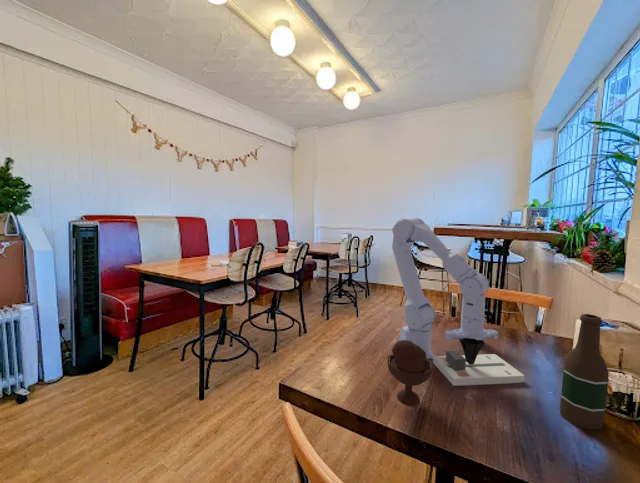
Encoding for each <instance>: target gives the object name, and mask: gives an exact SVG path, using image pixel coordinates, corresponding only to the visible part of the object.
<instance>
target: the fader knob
mask: <svg viewBox="0 0 640 483" xmlns="http://www.w3.org/2000/svg"><path fill="white" fill-rule="evenodd" d="M445 353H446V354H445V356H446V361H447V362H448V363H449V364H450V365H451V366H452V367H453V368H454V369H455V370H465V365H466V359H465V358H464V357H463V356H462V355H463V354H461V353H460V352H458V350H446V352H445Z"/></svg>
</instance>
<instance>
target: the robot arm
mask: <svg viewBox="0 0 640 483" xmlns="http://www.w3.org/2000/svg"><path fill="white" fill-rule="evenodd" d="M391 230H392V234H393V237H392V245H391V247H392V251H393V255H394V259H395V262H396V266H397V270H398V273H399V276H400V280H401V283H402V287H403V291H404V294H405V298H406V301H405V304H404V306H403V308H404V316H403V317H404V323H405V324H406V326H402V327H400V329H399V336H398V338H399V340H398V341H401V340H407V341H411V342H413V343H414V344H416V345H418V346H419V347H421V348H422V349H423V350H424V351H425V352H426V358H427V359H429V360H430V359H432V360H433V356H435V354H434V353H433V352H432V351H431V350H432V348H431V346H432V328H433V327H432V323H433V322H434V320H436V317H437V316H436V311H435V309H434V307H433V306H432V304H431V303H430V300H429V298H427V297H426V296H425V295H424V292H423V289H422V286H421V282H420V278H419V275H418V271H417V267H416V265H415V264H416V263H415V261H414V258H413V254H412V251H411V249H412V247H413V245H414V243H415V242H418V243H419V242H420V243H423V244H424V245H425V246H426V247H428V249H429V250H430V251H431V252H433V253H434V254H435V255H436V256H437V257H438V258H439V259H440V260H441V261H442V263H441V264H442V265H441V266H442V268H443V269H444V270H445V271H446V272H447V274H449V276H451V277H452V278H453V280H454V281H455V282H456V283H457V284H459V286H458V288H459V290H460V292H461V294H462V300H461V316H460V328H456V329H452V330H445V332H444V338H445V339H446V340H447V341H452V340H459V343H460V345H461V347H462V351H463V353H464V354H463V355H465V359H466V362H467V363H469V364H474V362H475V360H476V357H477V355H479V353H480V351H481V350H482V348H484V347H485V341H484V339H494V340H497V339H499V338H498V337H499V332H498V331H497V330H495V329H485V328H484V327H485V326H484V325H485V324H484V323H485V310H486V291H488V289H489V288H490V287H489V286H490V282H489V280H488V278H487V277H486V275H485V274H484V273H480V272H479V271H478V270H477V269H476V268H475V269H474V268H473V267H472V266H471V265H470V264H469V263H468V262H467V261H466V259H467V258H466V257H465V256H464V255H460V254H459V253H452V252H451V251H450V250H449V248H448V247H446V245H445V244H444V243H443V242H442V241H441V240H440V238H439V237H437V235H436V234H435V233H434V231H433V230H432V229H431V228H430V226H429V225H428V224H427V223H425V221H424V220H423V219H421V218H417V217H416V218H400V219H398V220H397V221H396V222H395V224H394V226H393V227H392V228H391Z"/></svg>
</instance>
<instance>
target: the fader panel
mask: <svg viewBox="0 0 640 483" xmlns="http://www.w3.org/2000/svg"><path fill="white" fill-rule="evenodd" d="M461 355H462V356H463V357H464V358H465V354H461ZM432 364H433V365H434V366H435V367H436V368H437V369H438V370H439V371H440V373H442V375H444V377H445V378H446V380H448V381H449V383H451V385H452V386H453V387H455V386H456V387H457V386H458V387H459V386H480V385H498V384H499V385H500V384H501V385H503V384H504V385H505V384H524V383H525V378H526V377H525V374H523V373H522V372H521V371H519V370H518V369H516V368H515V367H513V366H512V365H511V364H510V363H508V362H507V361H505V360H504V359H503V358H501V357H500V356H498V355H497V354H495V353H490V354H489V353H488V354H478V355H477V357H476V360H475V362H474V364H469V363H467V362H466V365H465V370H455V369H454V368H453V367H452V366H451V365H450V364H449V363H448V362H447V361H446V355H437V356H435V355H434V356H433V358H432ZM521 382H522V383H521ZM523 382H524V383H523Z"/></svg>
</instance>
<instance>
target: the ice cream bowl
mask: <svg viewBox="0 0 640 483" xmlns="http://www.w3.org/2000/svg"><path fill="white" fill-rule="evenodd" d="M391 351H392V353H391V354H389V355H387V362H386V363H387V368H388V370H389V373H390V374H391V375H392V376H393V377H394V378H395V380H396V381H398V382H399V383H400V384H403V385H405V386H404V389H401V390H399V391H398V392H397V393H396V397H397V399H398V401H399V402H400V403H402V404H405V405H408V406H416V405H417V404H419V403H420V397H419V396H420V395H419V394H417V392H416V391H413V386H416V387H417V386H420V385H422V384H423V383H425V382H426V381H429V379H430V377H431V376H432V375H433V372H434V363H433V360H430V359H427V358H426V352H425V351H424V350H423V349H422V348H421V347H419V346H418V345H416V344H414V343H413V342H411V341H407V340H401V341H399V340H398V341H396V342H395V343H394V345H393V346H392V348H391Z"/></svg>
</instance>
